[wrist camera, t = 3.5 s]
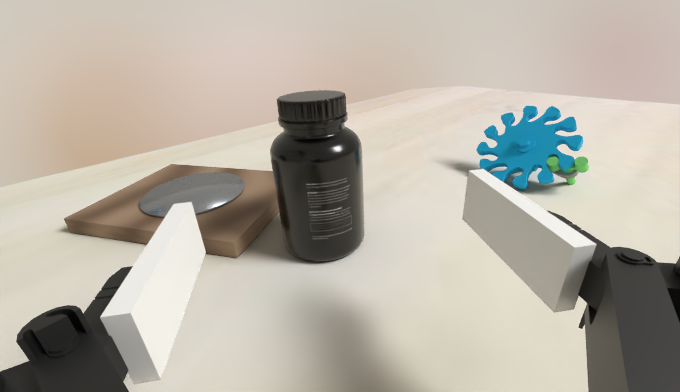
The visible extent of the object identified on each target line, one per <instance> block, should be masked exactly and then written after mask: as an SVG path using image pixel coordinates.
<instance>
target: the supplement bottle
mask: <svg viewBox="0 0 680 392" xmlns="http://www.w3.org/2000/svg"><path fill="white" fill-rule="evenodd" d="M277 105H278V112H279V118H278V121H279V125H280V126H281V127H283V129H284V132H282V133H281V134H280V135H278V136H277V137H276V138H275V140H274V141H273V143H272V146H271V149H270V155H271V163H272V169H273V175H274V182H275V188H276V194H277V200H278V207H279V213H280V219H281V226H282V232H283V237H284V242H285V245H286V247H287V248H288V250H289V251H290V252H291V253H292V254H294V255H295V256H297V257H299V258H302V259H305V260H309V261H317V262H322V261H332V260H336V259H340V258H342V257H345V256H347V255H349V254H351V253H352V252H353V251H355V250H356V249H357V248H358V247H359V246H360V244H361V243H362V241H363V238H364V202H363V171H362V147H361V142H360V139H359V138H358V136H357V135H356V134H355V133H354V132H353V131H352V130H350V129H348V128H347V127H345V126H344V122H346V121H347V119H348V118H347V112H346V97H345V93H343V92H339V91H327V90H324V91H305V92H297V93H291V94H287V95H283V96H281V97H279V98H278V99H277Z"/></svg>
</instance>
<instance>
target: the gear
mask: <svg viewBox="0 0 680 392" xmlns="http://www.w3.org/2000/svg"><path fill="white" fill-rule="evenodd" d="M523 112H524V114H523V118H522V119H521V121H520V122H519V123H518V124H517V125H516V126H511V125H512V124H513V123H514V121H515V117H514V115H513V113H507V114H504V115H502V116H501V119H502V122H503V124H504V125H505V126H506V129H505V133H504V134H503V135H500V136H498V131H497V129H496V127H495V126H493V125H492V126H490V127H488V128H487V129H486V130H485V131H484V133H485V135H486V137H487V138H490V139H493V140H495V141H496V142H497V143H498V144H497V146H496V147H495V148H489V147H488V145H487V143H485V142H481V143H480V144H479V146H478V148H477V152H478V154H479V155H488V154H490V155H495V156H497V157H498V159H497V160H495V161H490V160H488V159H482V160H480V168H481V169H484V170H486V171H487V172H488V171H490V170H491V169H493V168H496V167H504V166H505V167H507V169H506V170H505V171H497V172H494V173H493V174H492V175H493V176H495V177H496V178H498V179H499V180H501V181H502V182H505V180H506V179H507V178H508V177H509V176H510V175H511V174H513V173H515V172H517V171H523V174H522V175H520V176H518V177H516V178H514V179H513V182H512V183H513V185H514V187H516V188H518V189H524V190H525V189H526V188H527V187H528V177H529V175H530V174H531V172H532V171H536V170H537V169H538V168H542V171H541V172H540V173H539V174H538V180H539V183H540V184H548V183H552V182H553V181H554V177H553V174H552V173H554V174H556V175H558V176H560V177H563V178H566V181H567V183H568V184H570V185H573V184H574V183H575V178H574V177H575V176H576V175H577V174H578V172H581V173H583V172H586V171H587V170H588V169H589V166H588V160H587V158H585V157H578V158H576V159H575V160H574V158H573V157H572V156H569V155H565V154H563V153H561V152H560V151H559V150H558V149H557V148H556V147H557V146H558V145H560V144H566V145H567V146H568V147H569V148H570V149H571V150H573V151H578V150H579V149H580V148H581V146H582V143H583V137H582V136H580V135H575V136H569V137H565V136H560V135H557V134H555V132H557V131H559V130H563V131H566V132H574V131H576V129H577V127H576V121H575V119H574V117H568V118H566V119H565V120H563V121H561V122H559V123H556V124H551V125H544V123H545V122H547V121H554V120H557V119H559V118H560V117H561V114H560V111H559V110H558V109H557V108H555V107H553V106H551V107H549V108H548V109H547V110H546V112H545V113H544V115H543V116H541V117H540V118H539V119H537V120H535V121H533V122H528V121H529V120H530V119H532V118H534V117H535V116H536V115H537V114H538V111H537V107H535V106H526V107H525V108H524V109H523ZM551 172H552V173H551Z"/></svg>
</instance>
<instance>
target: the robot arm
mask: <svg viewBox="0 0 680 392" xmlns="http://www.w3.org/2000/svg"><path fill="white" fill-rule="evenodd" d="M463 220H464V221H465V222H466V223H467V224H468V225H469V226H470V227H471V228H472V229H473V230H474V231H475V232H476V233H477V234H478V235H479V236H480V237H481V238H482V239H483V240H484V241H485V243H486V244H487V245H488V246H489V247H490V248H491V249H492V250H493V251H494V252H495V253H496V254H497V255H498V256H499V257H500V258H501V259H502V260H503V261H504V262H505V263H506V264H507V265H508V266H509V267H510V268H511V269H512V270H513V271H514V272H515V273H516V274H517V275H518V276H519V277H520V278H521V279H522V280H523V281H524V282H525V283H526V284H527V285H528V286H529V287H530V288H531V290H532V291H533V292H534V293H535V294H536V295H537V296H538V297H539V298H540V299H541V300H542V301H543V302H544V303H545V304H546V305H547V306H548V307H549V308H550V309H551V310H552V311H553V312H560V311H566V310H572V309H574V307H575V304H576V302H577V299H578V296H580V297H581V298H582V299H583V300H585V301H586V302H587V306H586V308H585V311H584V314H583V316H582V319H581V322H580V324H579V327H578V328H581V329H582V328H583V326H584V325H585V332H586V350H587V369H588V387H589V392H680V257H679V259H678V261H677V263H676V264H673V263H658V262H656V261H655V260H654V259H653V258H651V257H650V256H648V255H646V254H644V253H642V252H640V251H637V250H633V249H630V248H624V247H612V248H610V247H609V246H607V245H606V244H604V243H603V242H601V241H600V240H598V239H596V238H595V237H593V236H592V235H590V234H589V233H587V232H586V231H584V230H581V228H579V227H578V226H576V225H575V224H572V222H570V221H569V220H567V219H566V218H564V217H562V216H560V215H558V214H555V213H553V212H550V211H546V210H544V209H543V208H541V207H540V206H538V205H537V204H535V203H534V202H532V201H531V200H529V199H528V198H526V197H525V196H523V195H522V194H520V193H519V192H517V191H516V190H514V189H513V188H511V187H510V186H508V185H507V184H505V183H504V182H502V181H501V180H499V179H498V178H496V177H495V176H493V175H492V174H490V173H489V172H487V171H486V170H484V169H478V170H469V172H468V180H467V188H466V195H465V203H464V211H463ZM205 254H206V251H205V247H204V244H203V240H202V237H201V233H200V230H199V226H198V223H197V219H196V216H195V212H194V209H193V205H192V202H186V203H177V204H173V206H172V207H171V209H170V210H169V212H168V213H167V215H166V216H165V218H164V219H163V221H162V223H161V224H160V226H159V227H158V229H157V230H156V232H155V233H154V235H153V236H152V238H151V240H150V241H149V243H148V244H147V246H146V247H145V249H144V250H143V252H142V253H141V255H140V256H139V258H138V260H137V261H136V263H135V264H134V266H132V267H124V268H121V269H120V270H119V271H117V272H116V273H115V274H114V275H112V276H111V277H110V278H109V279H108V280H107V282H106V283H105V284H104V286H103V287H102V290H101V291H99V293H98V294H97V296H96V297H95V300H93V301H92V303H91V304H90V305H89V307H88V308H87V310H86V311H85V312H84V314H83V313H82V311H81V309H80V308H78V307H77V306H69V305H67V306H62V307H57V308H54V309H52V310H49V311H47V312H44V313H43V314H41V315H39V316H37V317H36V318H34V319H32V320H31V321H30V322H29V323H28V324H26V325H25V326H24V327H23V328H22V329H21V331H20V332H19V333H18V335H17V341H16V342H17V343H18V345H19V346H20V348H21V349H22V350H23V352H24V353H25V355H26V356H27V358H28V359H29V360H30V361H28V362H25V363H23V364H20V365H17V366H14V367H12V368H9V369H6V370H3V371H1V372H0V392H129V391H128V389H127V388H126V386H125V384H124V383H123V381H124V379H125V377H126V374H127V372H128V373H129V375H130V377H131V379H132V381H133V383H134V384H138V383H144V382H150V381H156V380H161V378H162V375H163V372H164V369H165V367H166V364H167V361H168V358H169V355H170V352H171V350H172V347H173V344H174V341H175V338H176V336H177V333H178V330H179V327H180V324H181V321H182V319H183V316H184V313H185V310H186V307H187V305H188V302H189V299H190V296H191V293H192V290H193V288H194V285H195V282H196V279H197V276H198V274H199V271H200V268H201V265H202V262H203V259H204V257H205Z"/></svg>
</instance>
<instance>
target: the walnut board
mask: <svg viewBox="0 0 680 392" xmlns="http://www.w3.org/2000/svg"><path fill="white" fill-rule="evenodd" d="M186 202H192V205H193V209H194V212H195V216H196V219H197V223H198V226H199V230H200V233H201V237H202V240H203V244H204V247H205V251H206V253H207V254H214V255H220V256H227V257H233V258H238V257H239V255H240V254H241V253H242V252H243V251H244V250H245V249H246V248H247V247H248V246H249V244H250V243H251V242H252V241H253V240H254V239H255V238H256V237H257V236H258V234H259V233H260V232H261V231H262V230H263V229H264V228H265V227H266V226H267V224H268V223H269V222H270V221H271V220H272V219H273V218H274V217H275V216H276V214H277V213H278V212H279V207H278V200H277V194H276V188H275V182H274V175H273V171H260V170H246V169H232V168H218V167H204V166H190V165H176V164H171V165H169V166H167V167H165V168H163V169H161V170H159V171H157V172H155V173H153V174H151V175H149V176H147V177H145V178H143V179H141V180H139V181H137V182H135V183H133V184H132V185H130V186H128V187H126V188H124V189H122V190H120V191H118V192H116V193H114V194H112V195H110V196H108V197H106V198H104V199H102V200H100V201H98V202H96V203H94V204H92V205H90V206H88V207H86V208H84V209H82V210H80V211H78V212H76V213H74V214H72V215H70V216H68V217H66V218H64V220H65V222H66V224H67V226H68V228H69V230H70V232H71V233H78V234H84V235H91V236H97V237H104V238H110V239H117V240H123V241H129V242H136V243H142V244H148V243H149V241H150V240H151V238H152V236H153V235H154V233H155V232H156V230H157V229H158V227H159V226H160V224H161V223H162V221H163V219H164V218H165V216H166V215H167V213H168V212H169V210H170V209H171V207H172V206H173V204H177V203H186Z"/></svg>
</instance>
